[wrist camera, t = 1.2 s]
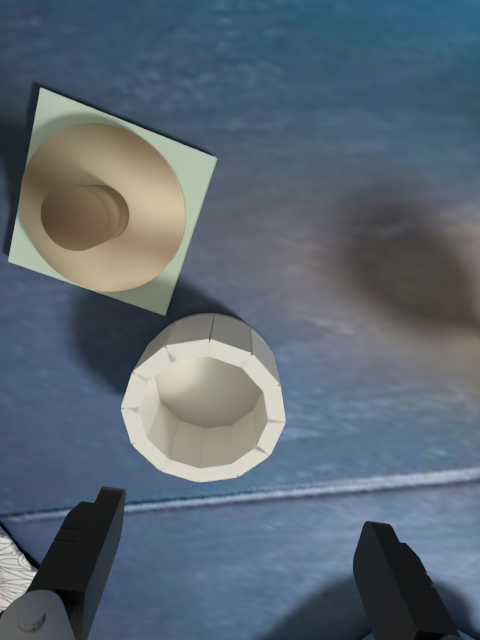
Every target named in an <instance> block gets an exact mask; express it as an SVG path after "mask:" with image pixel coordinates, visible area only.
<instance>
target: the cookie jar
mask: <svg viewBox="0 0 480 640" xmlns="http://www.w3.org/2000/svg"><path fill="white" fill-rule="evenodd" d="M37 571H38V569H36V568H35V567H33V566H32V565H31V564H30V563H29V562H28V561H27V560H26V558H25V556H24V554H23V553H21V552H20V551H19V549H18V548H17V546H16V545H15V543H14V542H13V540H12V539H11V538H10V537H9V535H8V534H7V533H6V532H5V531H4V530H3V529H2V528H1V527H0V612H1V611H3V610H5V609H6V608H7V607H8V606H9V605H10V604H11V603H12V602H13V601H14V600H15V599H17V598H18V597H20V596H22V595H24V593H25V592H26V591H27V589H28V587H29V586H30V584H31V582H32V580H33V578H34V576H35V574H36V573H37Z"/></svg>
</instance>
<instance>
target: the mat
mask: <svg viewBox="0 0 480 640" xmlns="http://www.w3.org/2000/svg"><path fill="white" fill-rule="evenodd" d="M85 123H102V124H108V125H113V126H116V127H119V128H122V129H125V130H127V131H129V132H131V133H133V134H136V135H138V136H140V137H141V138H143V139H144V140H146V141H147V142H149V143H150V144H151V145H152V146H154V147H155V148H156V149H157V150H158V151H159V152H160V153H161V154H162V155H163V156H164V157H165V158H166V160H167V161H168V163H169V164H170V165H171V167H172V168H173V170H174V172H175V174H176V176H177V177H178V180H179V182H180V185H181V187H182V191H183V194H184V198H185V205H186V225H185V231H184V235H183V239H182V242H181V244H180V247H179V249H178V251H177V253H176V255H175V256H174V258H173V259H172V260H171V262H170V263H169V264H168V265H167V267H166V268H165V269H164V270H163V271H162V272H161V273H160V274H159V275H157V276H156V277H155V278H153V279H152V280H150V281H149V282H147V283H145V284H143V285H141V286H138V287H136V288H133V289H129V290H124V291H115V292H109V291H98V290H93V289H89V288H86V287H83V286H80V285H78V284H75V283H73V282H72V281H70V280H68V279H66V278H64V277H63V276H62V275H60V274H59V273H57V272H56V271H55V270H54V269H53V268H52V267H51V266H49V265H48V264H47V262H46V261H45V260H44V259H43V258H42V257H41V256H40V254H39V253H38V251H37V250H36V248H35V247H34V245H33V243H32V242H31V240H30V238H29V236H28V233H27V231H26V228H25V225H24V222H23V218H22V213H21V206H20V200H19V205H18V211H17V216H16V221H15V227H14V232H13V238H12V243H11V248H10V254H9V259H8V262H11V263H14V264H17V265H20V266H23V267H25V268H28V269H31V270H34V271H37V272H40V273H43V274H46V275H48V276H51V277H54V278H57V279H60V280H63V281H66V282H69V283H72V284H74V285H77V286H80V287H83V288H86V289H89V290H92V291H95V292H97V293H100V294H103V295H106V296H109V297H112V298H115V299H118V300H121V301H123V302H126V303H129V304H132V305H135V306H138V307H141V308H144V309H146V310H149V311H152V312H155V313H158V314H161V315H164V316H165V315H166V313H167V310H168V307H169V304H170V301H171V298H172V295H173V292H174V289H175V286H176V283H177V280H178V277H179V274H180V271H181V268H182V265H183V261H184V258H185V255H186V252H187V249H188V246H189V243H190V240H191V237H192V234H193V231H194V228H195V225H196V222H197V219H198V216H199V213H200V210H201V207H202V204H203V201H204V198H205V195H206V192H207V189H208V186H209V182H210V179H211V176H212V173H213V170H214V167H215V164H216V161H217V158H216V157H213V156H211V155H208V154H206V153H203V152H201V151H198V150H196V149H193V148H191V147H188V146H186V145H183V144H181V143H178V142H176V141H173V140H171V139H168V138H166V137H163V136H161V135H158V134H156V133H153V132H151V131H148V130H146V129H143V128H141V127H138V126H136V125H133V124H131V123H128V122H126V121H123V120H121V119H118V118H116V117H113V116H111V115H108V114H106V113H103V112H101V111H98V110H96V109H93V108H91V107H88V106H86V105H83V104H81V103H78V102H76V101H73V100H71V99H68V98H66V97H63V96H61V95H58V94H56V93H53V92H51V91H48V90H46V89H43V88H41V87H40V92H39V98H38V103H37V109H36V114H35V119H34V125H33V130H32V135H31V141H30V146H29V152H28V157H27V162H26V167H27V164H28V162H29V160H30V159H31V157H32V155H33V154H34V152H35V151H36V150H37V149H38V147H39V146H40V145H41V144H42V143H43V142H44V141H45V140H47V139H48V138H49V137H50V136H52V135H53V134H55V133H57V132H58V131H60V130H63V129H65V128H67V127H70V126H74V125H78V124H85ZM25 169H26V168H25Z"/></svg>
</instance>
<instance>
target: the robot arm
mask: <svg viewBox="0 0 480 640" xmlns="http://www.w3.org/2000/svg"><path fill="white" fill-rule="evenodd" d="M125 496H126V489H120V488H112V487H104V486H103V487H102V488H101V490H100V492H99V494H98V496H97V498H96V501H95V503H89V502H80V503H79V504H78V505H77V506H76V507H75V508H74V509H72V510H71V511H70V512H69V513H68V515H67V516H66V518H65V520H64V522H63V524H62V526H61V528H60V530H59V531H58V533H57V535H56V537H55V539H54V542H53V543H52V545H51V546H50V548H49V550H48V552H47V554H46V556H45V558H44V559H43V561H42V563H41V565H40V567H39V569H38V571H37V573H36V574H35V576H34V578H33V580H32V582H31V584H30V586H29V587H28V589H27V591H26V592H25V593H24V595H22V596H20V597H18V598H17V599H15V600H14V601H13V602H12V603H11V604H10V605H9V606H8V607H7V608H6V609H5V610H3V611H1V612H0V640H87V638H88V635H89V632H90V629H91V626H92V623H93V620H94V617H95V614H96V611H97V608H98V605H99V602H100V599H101V596H102V593H103V590H104V587H105V584H106V581H107V578H108V575H109V572H110V569H111V566H112V563H113V560H114V557H115V554H116V551H117V548H118V545H119V541H120V537H121V532H122V525H123V515H124V506H125ZM353 572H354V577H355V581H356V584H357V587H358V590H359V593H360V596H361V599H362V602H363V605H364V609H365V612H366V615H367V618H368V621H369V624H370V627H371V630H372V633H373V636H374V639H375V640H465V639H463V638H461V636H460V634H459V632H458V631H457V629H456V627H455V625H454V623H453V621H452V619H451V617H450V615H449V613H448V612H447V610H446V608H445V606H444V604H443V602H442V600H441V598H440V596H439V594H438V593H437V591H436V589H434V585H433V583H432V581H431V579H430V577H429V576H427V572H426V570H425V568H424V566H423V564H422V562H421V560H420V558H419V557H418V556H417V555H416V554H415V552H414V551H413V550H412V549H411V548H410V547H409V546H408V545H407V544H406V543H401V542H399V540H398V538H397V536H396V534H395V532H394V530H393V528H392V526H391V525H390V524H386V523H378V522H370V521H366V522H365V524H364V526H363V529H362V532H361V535H360V539H359V542H358V545H357V548H356V551H355V555H354V559H353Z"/></svg>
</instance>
